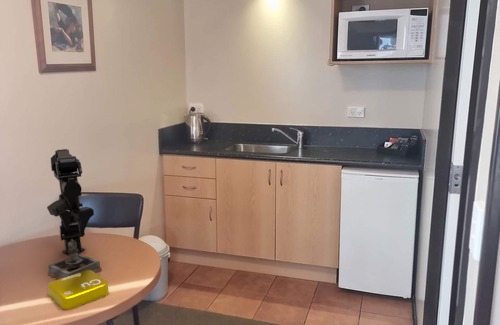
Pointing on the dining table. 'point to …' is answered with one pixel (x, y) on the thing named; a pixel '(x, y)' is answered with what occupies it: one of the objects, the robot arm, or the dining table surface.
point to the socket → (60, 270)
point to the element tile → (77, 289)
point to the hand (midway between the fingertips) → (74, 231)
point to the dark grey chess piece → (73, 257)
